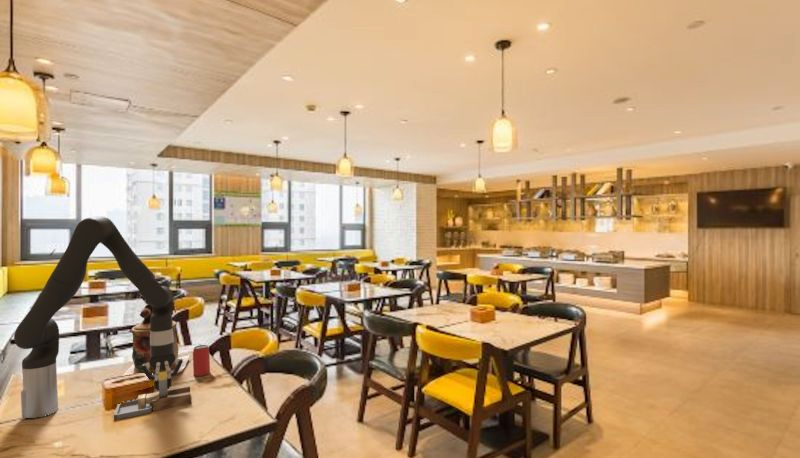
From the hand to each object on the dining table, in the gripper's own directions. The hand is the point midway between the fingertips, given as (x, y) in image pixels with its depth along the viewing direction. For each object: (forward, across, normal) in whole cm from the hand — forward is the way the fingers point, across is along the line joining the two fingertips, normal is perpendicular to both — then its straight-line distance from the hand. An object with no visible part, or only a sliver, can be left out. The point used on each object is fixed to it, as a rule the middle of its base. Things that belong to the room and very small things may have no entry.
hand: (163, 388), depth 155 cm
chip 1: (+3, -6, 0) cm, 7 cm away
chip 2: (+4, -3, 0) cm, 5 cm away
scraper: (+3, 0, 0) cm, 3 cm away
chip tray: (+6, -9, 0) cm, 11 cm away
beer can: (+6, +14, +28) cm, 32 cm away
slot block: (+6, +3, 0) cm, 6 cm away
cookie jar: (+6, -4, +44) cm, 45 cm away
